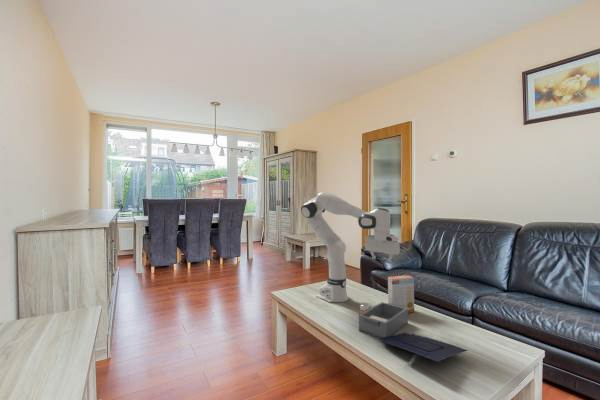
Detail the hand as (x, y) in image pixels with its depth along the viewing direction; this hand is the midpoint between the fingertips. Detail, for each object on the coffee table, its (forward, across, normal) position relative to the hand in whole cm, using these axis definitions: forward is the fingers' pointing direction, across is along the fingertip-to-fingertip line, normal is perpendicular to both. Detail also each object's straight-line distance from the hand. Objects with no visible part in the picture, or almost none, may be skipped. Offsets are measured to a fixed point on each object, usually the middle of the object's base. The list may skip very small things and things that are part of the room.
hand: (381, 260), depth 163 cm
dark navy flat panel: (+32, +31, -23) cm, 50 cm away
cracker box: (+32, +6, +15) cm, 36 cm away
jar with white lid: (+32, -5, -8) cm, 34 cm away
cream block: (+31, +8, -18) cm, 37 cm away
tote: (+32, +8, -11) cm, 35 cm away
